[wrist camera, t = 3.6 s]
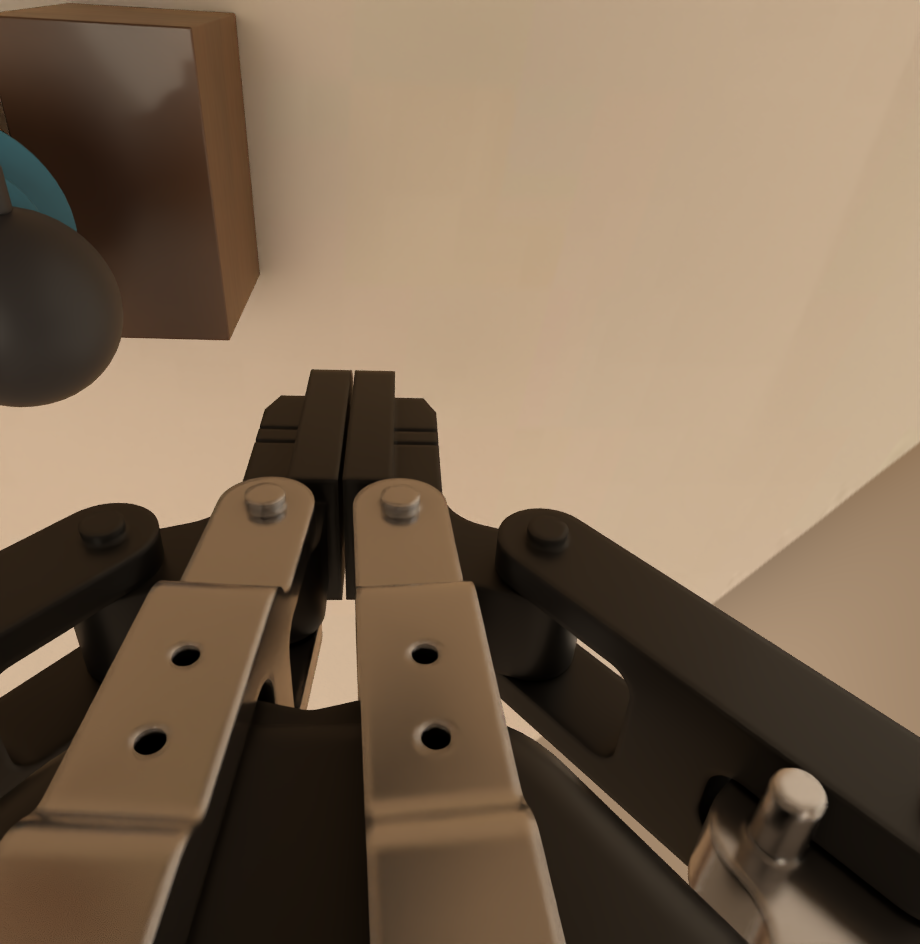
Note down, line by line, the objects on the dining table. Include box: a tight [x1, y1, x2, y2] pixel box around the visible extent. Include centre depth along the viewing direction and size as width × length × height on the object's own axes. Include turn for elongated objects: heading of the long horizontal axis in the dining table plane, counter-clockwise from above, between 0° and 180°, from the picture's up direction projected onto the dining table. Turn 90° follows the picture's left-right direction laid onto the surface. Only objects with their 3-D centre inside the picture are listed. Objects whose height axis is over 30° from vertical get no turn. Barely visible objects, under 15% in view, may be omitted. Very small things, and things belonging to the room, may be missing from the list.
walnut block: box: [0, 3, 260, 340], centre depth 28 cm, size 6×10×7 cm, turn 177°
